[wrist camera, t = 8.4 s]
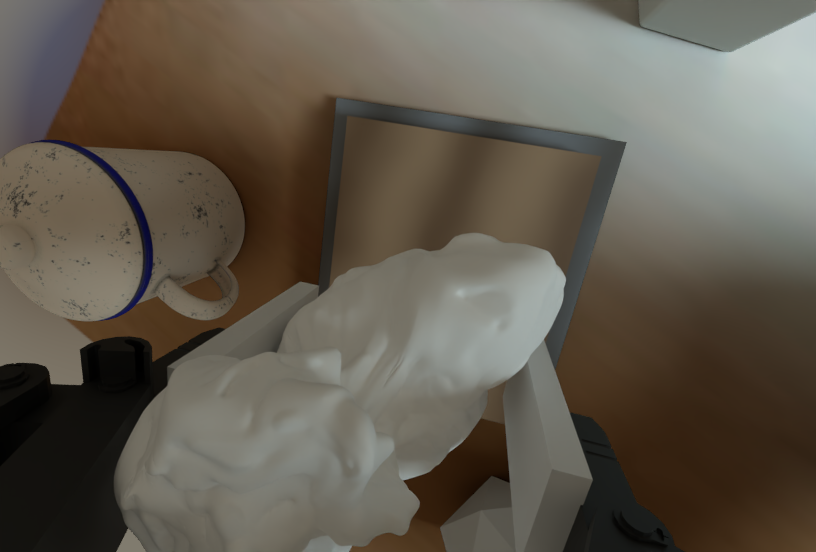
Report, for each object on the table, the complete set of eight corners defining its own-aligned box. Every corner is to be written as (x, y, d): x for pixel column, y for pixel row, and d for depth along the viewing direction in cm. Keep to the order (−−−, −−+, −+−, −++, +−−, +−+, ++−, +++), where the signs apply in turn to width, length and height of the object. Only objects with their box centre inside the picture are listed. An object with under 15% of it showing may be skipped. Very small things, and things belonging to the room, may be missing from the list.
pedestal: (620, 143, 21) (640, 139, 18) (535, 418, 26) (541, 448, 24) (342, 100, 23) (322, 91, 20) (315, 362, 29) (297, 383, 26)
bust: (513, 208, 15) (251, -20, 6) (676, 369, 11) (572, 348, 2) (332, 389, 19) (15, 402, 10) (404, 558, 15) (-21, 818, 6)
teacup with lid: (117, 219, 29) (-114, 252, 18) (171, 118, 26) (-64, 82, 15) (239, 327, 29) (90, 425, 18) (307, 240, 26) (178, 293, 15)
